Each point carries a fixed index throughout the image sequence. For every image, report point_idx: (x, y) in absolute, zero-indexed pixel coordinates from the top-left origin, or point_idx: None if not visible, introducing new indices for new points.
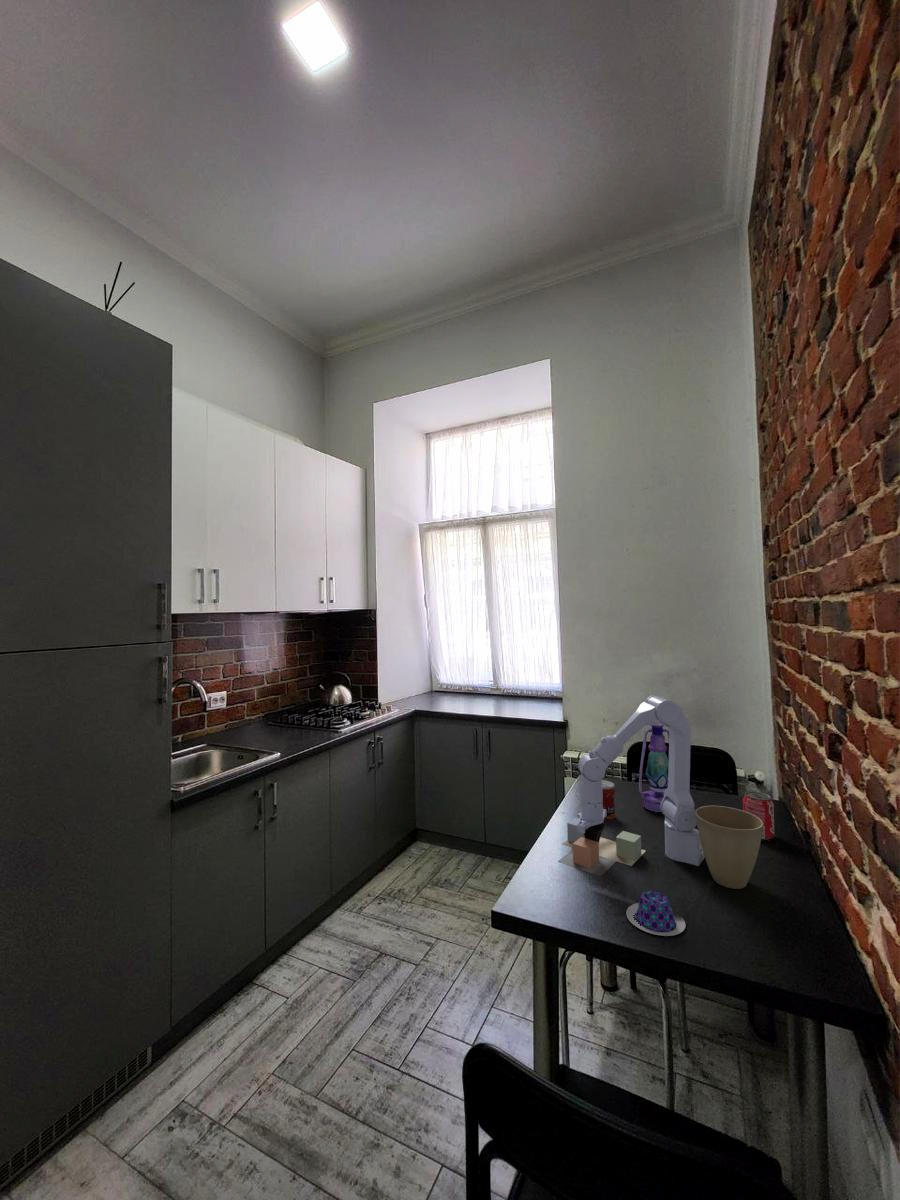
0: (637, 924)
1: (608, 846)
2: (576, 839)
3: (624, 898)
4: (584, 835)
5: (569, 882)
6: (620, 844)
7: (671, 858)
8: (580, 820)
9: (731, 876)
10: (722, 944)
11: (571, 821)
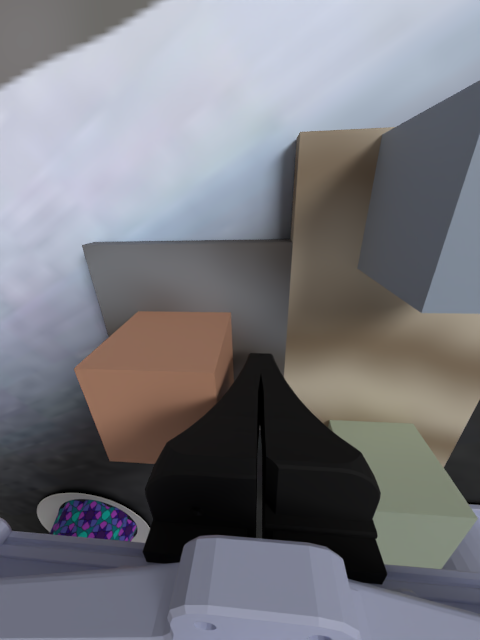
0: (51, 508)
1: (410, 372)
2: (377, 218)
3: (114, 474)
4: (215, 407)
5: (38, 344)
6: None
7: None
8: (37, 619)
9: None
10: None
11: None
